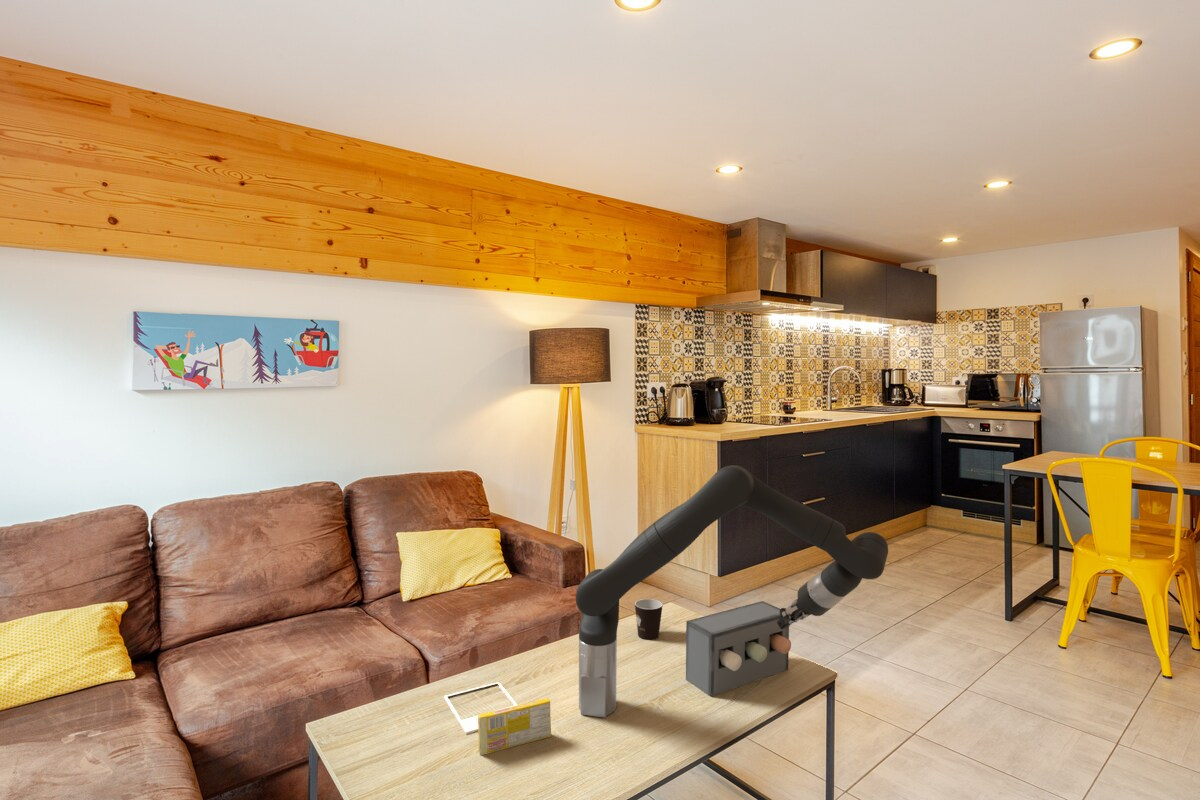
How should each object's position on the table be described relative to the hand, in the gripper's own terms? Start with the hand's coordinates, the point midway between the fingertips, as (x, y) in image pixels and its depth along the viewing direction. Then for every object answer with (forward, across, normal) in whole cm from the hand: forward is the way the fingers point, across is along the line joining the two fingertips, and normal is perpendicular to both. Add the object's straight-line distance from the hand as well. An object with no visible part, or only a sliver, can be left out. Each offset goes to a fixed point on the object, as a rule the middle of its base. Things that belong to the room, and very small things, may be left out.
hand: (780, 625), depth 154 cm
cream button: (+17, +8, +1) cm, 18 cm away
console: (+25, -1, +3) cm, 25 cm away
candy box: (+27, +63, +2) cm, 69 cm away
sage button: (+17, -1, +1) cm, 17 cm away
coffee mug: (+49, +5, -21) cm, 54 cm away
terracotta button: (+17, -10, +1) cm, 20 cm away
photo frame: (+39, +64, -11) cm, 76 cm away
